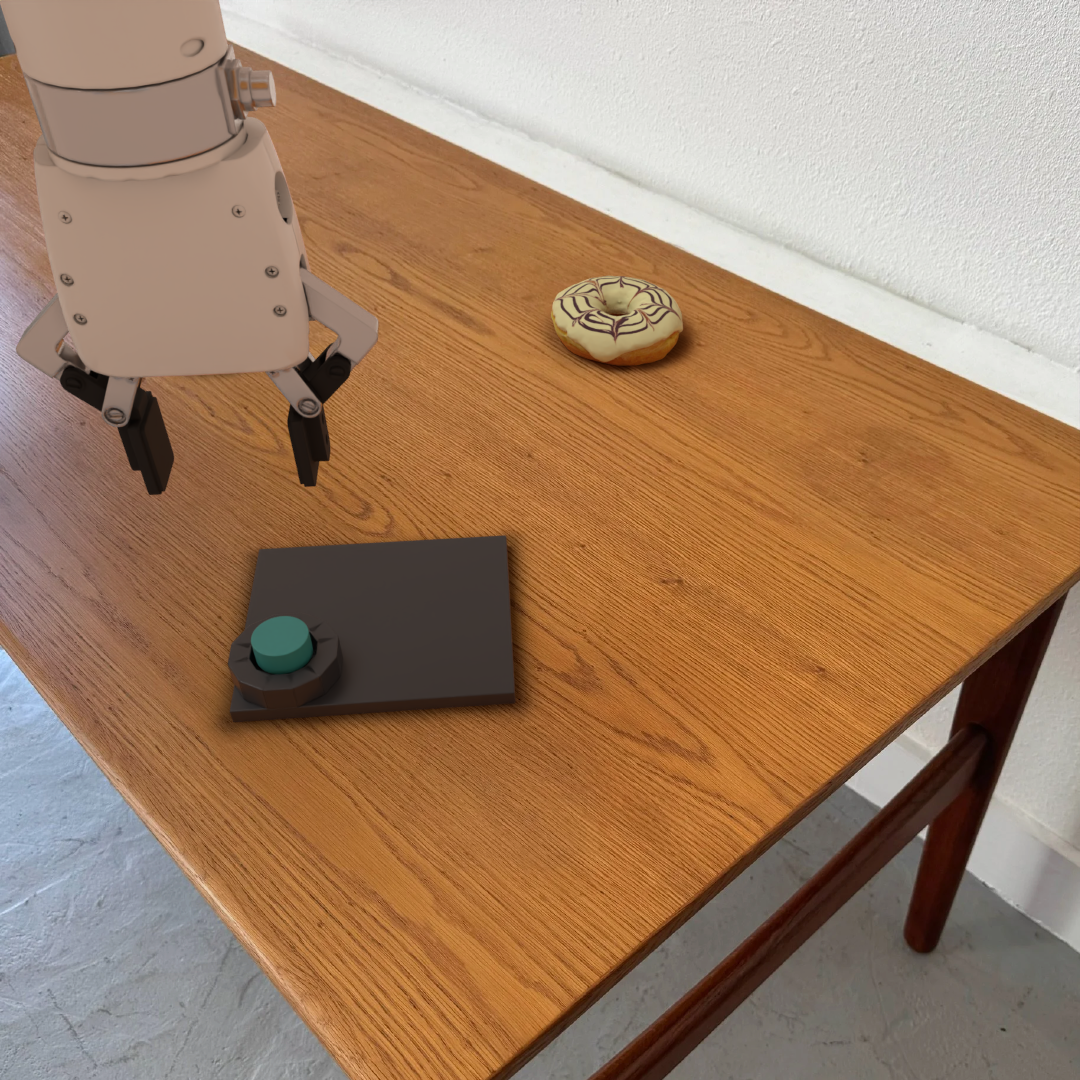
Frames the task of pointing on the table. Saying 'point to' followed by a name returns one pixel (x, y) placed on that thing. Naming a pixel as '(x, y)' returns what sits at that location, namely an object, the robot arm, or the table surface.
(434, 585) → the dark grey flat block
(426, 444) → the table surface
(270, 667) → the button
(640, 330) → the decorated donut
